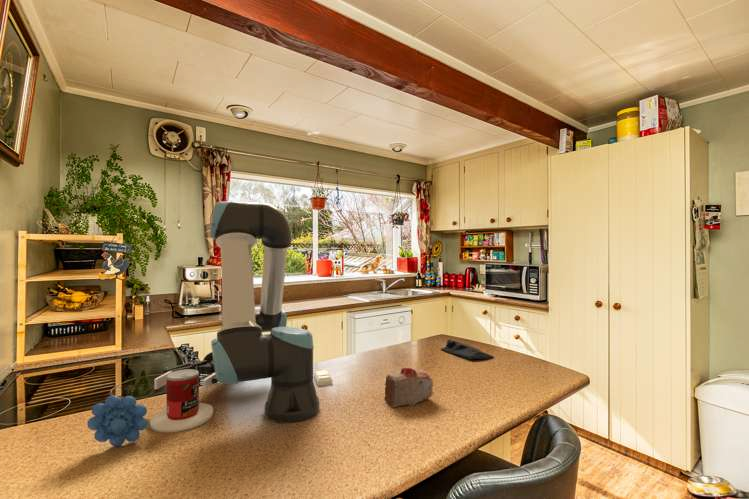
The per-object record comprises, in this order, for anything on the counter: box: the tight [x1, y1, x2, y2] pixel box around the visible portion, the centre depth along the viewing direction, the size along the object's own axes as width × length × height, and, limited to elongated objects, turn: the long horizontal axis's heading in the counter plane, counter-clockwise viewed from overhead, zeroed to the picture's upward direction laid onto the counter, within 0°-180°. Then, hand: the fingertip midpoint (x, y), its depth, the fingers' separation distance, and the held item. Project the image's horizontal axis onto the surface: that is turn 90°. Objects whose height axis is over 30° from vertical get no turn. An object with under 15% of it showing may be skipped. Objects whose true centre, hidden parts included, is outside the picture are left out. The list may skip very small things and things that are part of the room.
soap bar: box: [313, 369, 333, 387], centre depth 126 cm, size 5×9×3 cm, turn 19°
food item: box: [384, 367, 434, 408], centre depth 109 cm, size 14×8×10 cm, turn 118°
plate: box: [149, 402, 214, 434], centre depth 97 cm, size 15×15×1 cm
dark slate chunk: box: [440, 339, 495, 361], centre depth 159 cm, size 15×22×5 cm
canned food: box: [165, 369, 200, 420], centre depth 98 cm, size 8×8×11 cm
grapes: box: [86, 394, 149, 447], centre depth 83 cm, size 12×7×12 cm, turn 122°
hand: (179, 384), depth 96 cm, fingers open, 13 cm apart
